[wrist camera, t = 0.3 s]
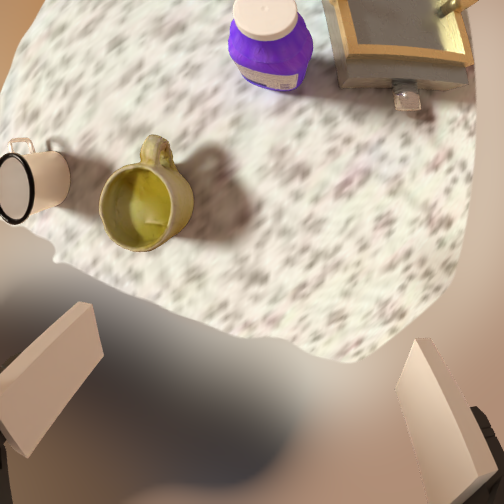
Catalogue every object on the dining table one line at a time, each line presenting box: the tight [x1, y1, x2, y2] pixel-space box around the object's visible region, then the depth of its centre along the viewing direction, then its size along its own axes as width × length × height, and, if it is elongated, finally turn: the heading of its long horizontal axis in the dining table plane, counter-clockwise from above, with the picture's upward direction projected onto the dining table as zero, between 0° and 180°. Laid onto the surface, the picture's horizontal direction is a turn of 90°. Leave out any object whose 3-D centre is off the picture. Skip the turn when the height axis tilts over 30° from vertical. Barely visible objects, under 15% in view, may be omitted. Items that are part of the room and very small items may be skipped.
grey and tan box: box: [322, 0, 479, 111], centre depth 22 cm, size 21×15×12 cm
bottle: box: [228, 0, 313, 91], centre depth 23 cm, size 7×6×17 cm
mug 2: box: [99, 135, 194, 252], centre depth 34 cm, size 12×10×10 cm
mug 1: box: [0, 138, 70, 225], centre depth 34 cm, size 12×10×9 cm
